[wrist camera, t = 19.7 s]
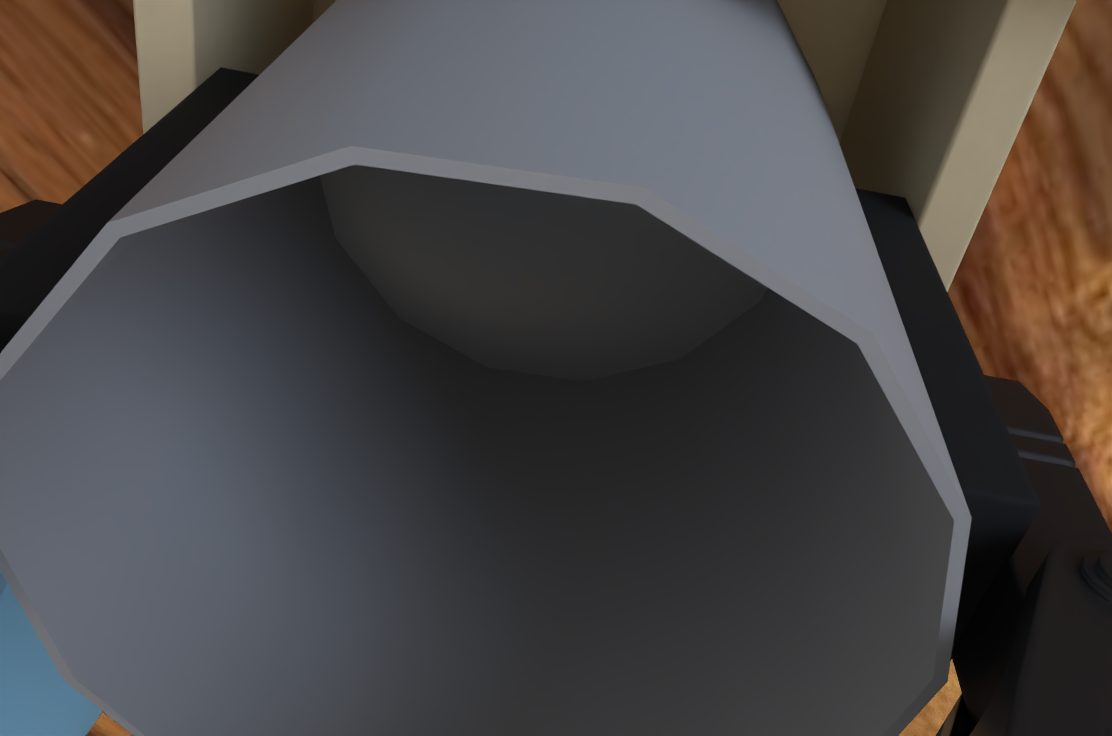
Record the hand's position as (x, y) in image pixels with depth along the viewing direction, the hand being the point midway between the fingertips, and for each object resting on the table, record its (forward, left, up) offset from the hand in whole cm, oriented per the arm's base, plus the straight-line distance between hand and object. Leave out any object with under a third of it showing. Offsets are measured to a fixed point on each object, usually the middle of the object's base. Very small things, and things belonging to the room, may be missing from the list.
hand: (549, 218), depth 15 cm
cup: (0, 0, -3) cm, 3 cm away
